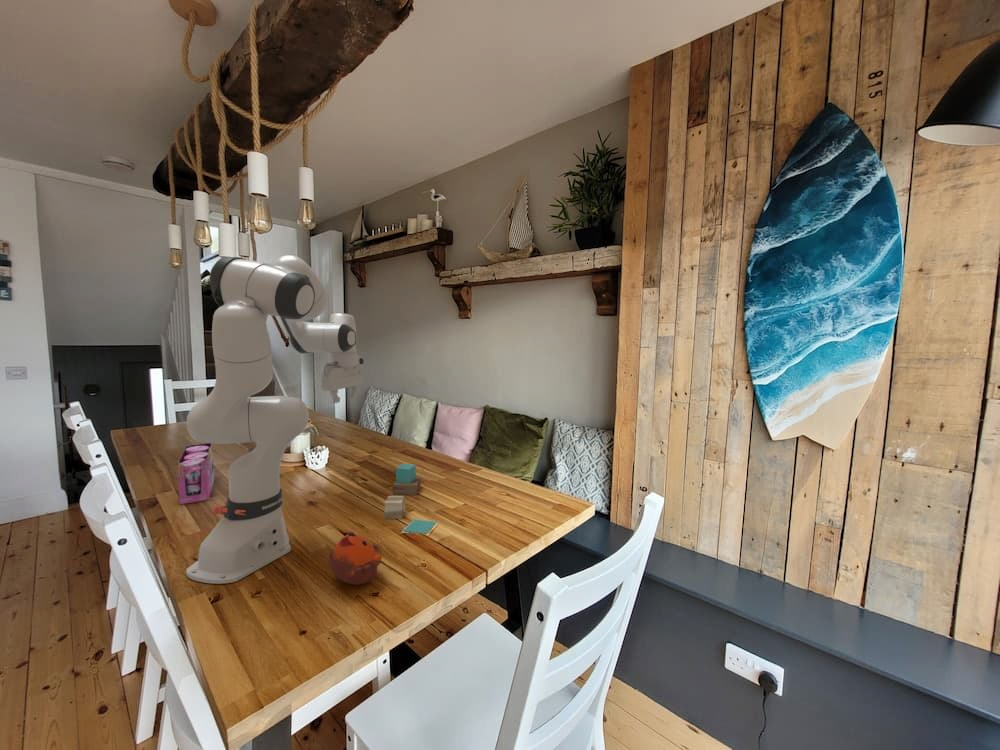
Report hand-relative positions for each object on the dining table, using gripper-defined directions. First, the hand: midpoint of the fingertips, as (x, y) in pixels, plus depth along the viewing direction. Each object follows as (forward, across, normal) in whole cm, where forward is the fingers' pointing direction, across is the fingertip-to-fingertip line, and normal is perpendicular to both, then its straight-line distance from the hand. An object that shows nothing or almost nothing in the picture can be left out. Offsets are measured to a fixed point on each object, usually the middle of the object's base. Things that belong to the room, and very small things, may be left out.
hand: (344, 400), depth 143 cm
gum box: (+31, -16, +46) cm, 58 cm away
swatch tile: (+31, -22, -38) cm, 54 cm away
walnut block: (+32, +2, -22) cm, 39 cm away
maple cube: (+31, -16, -27) cm, 44 cm away
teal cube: (+28, +2, -22) cm, 35 cm away
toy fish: (+31, -48, -34) cm, 67 cm away
